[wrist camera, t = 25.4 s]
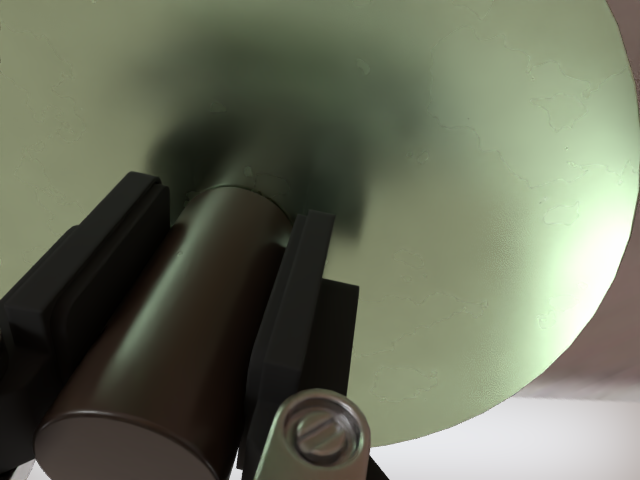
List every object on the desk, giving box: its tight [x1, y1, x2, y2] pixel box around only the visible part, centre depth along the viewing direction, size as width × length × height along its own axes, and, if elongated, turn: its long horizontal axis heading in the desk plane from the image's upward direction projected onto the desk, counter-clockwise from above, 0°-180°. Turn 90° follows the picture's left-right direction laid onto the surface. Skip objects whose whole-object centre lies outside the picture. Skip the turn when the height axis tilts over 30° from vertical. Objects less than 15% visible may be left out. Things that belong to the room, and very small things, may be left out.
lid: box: [0, 0, 640, 480], centre depth 9 cm, size 16×16×7 cm
